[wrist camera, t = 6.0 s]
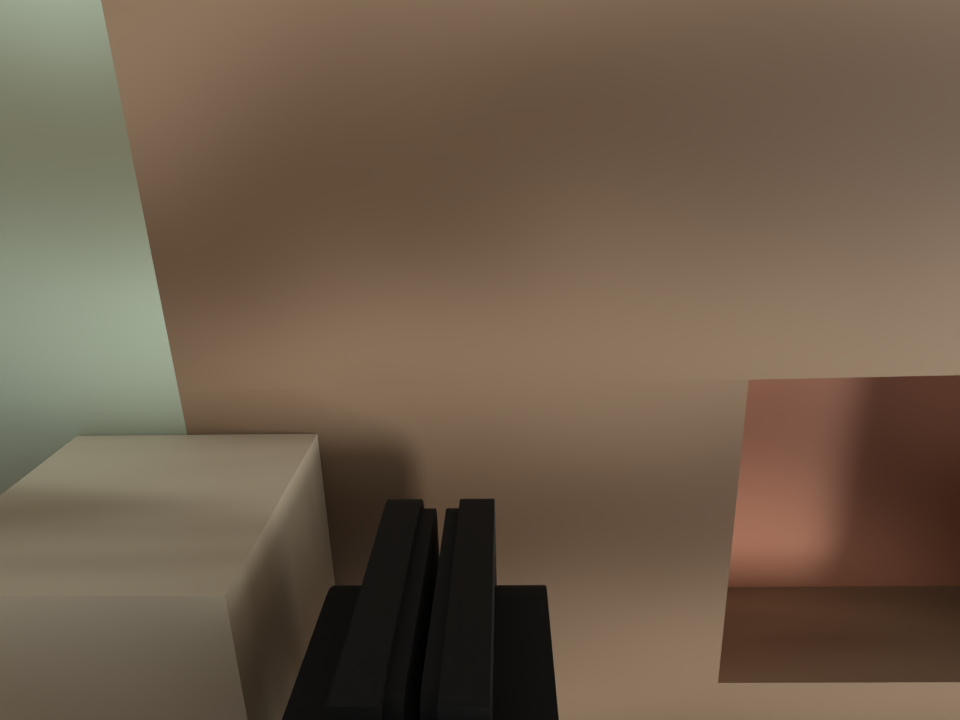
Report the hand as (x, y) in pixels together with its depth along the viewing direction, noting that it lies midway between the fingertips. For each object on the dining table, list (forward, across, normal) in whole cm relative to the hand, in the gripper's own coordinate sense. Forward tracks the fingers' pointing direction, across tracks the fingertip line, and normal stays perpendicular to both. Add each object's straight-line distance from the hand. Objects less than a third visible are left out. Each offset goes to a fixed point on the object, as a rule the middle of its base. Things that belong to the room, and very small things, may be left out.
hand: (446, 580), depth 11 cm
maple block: (+1, +4, 0) cm, 4 cm away
